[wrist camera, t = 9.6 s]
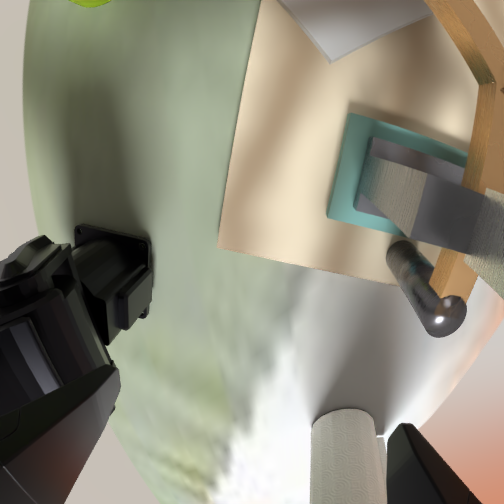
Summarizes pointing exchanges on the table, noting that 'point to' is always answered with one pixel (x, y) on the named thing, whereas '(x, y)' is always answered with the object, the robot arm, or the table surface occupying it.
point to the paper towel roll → (347, 460)
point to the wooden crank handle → (475, 174)
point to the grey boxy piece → (434, 205)
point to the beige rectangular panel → (340, 125)
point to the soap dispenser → (90, 2)
